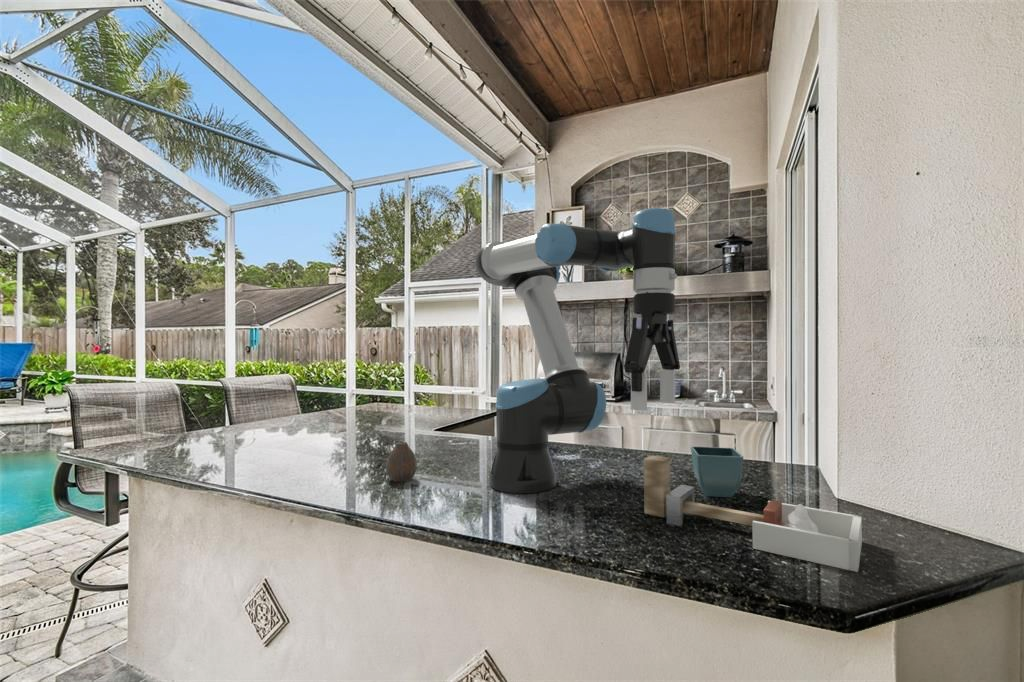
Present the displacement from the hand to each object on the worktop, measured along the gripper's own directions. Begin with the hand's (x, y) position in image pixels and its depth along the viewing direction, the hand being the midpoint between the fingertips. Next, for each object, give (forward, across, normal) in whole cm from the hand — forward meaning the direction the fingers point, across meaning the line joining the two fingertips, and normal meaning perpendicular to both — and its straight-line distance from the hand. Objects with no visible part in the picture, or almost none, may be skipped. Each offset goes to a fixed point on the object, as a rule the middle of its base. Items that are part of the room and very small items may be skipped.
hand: (654, 406), depth 91 cm
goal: (+19, -1, -25) cm, 32 cm away
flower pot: (+20, +18, -6) cm, 27 cm away
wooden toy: (+19, -1, -10) cm, 22 cm away
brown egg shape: (+21, -15, +55) cm, 61 cm away
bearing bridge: (+19, -1, -6) cm, 20 cm away
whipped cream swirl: (+19, -1, -24) cm, 31 cm away
